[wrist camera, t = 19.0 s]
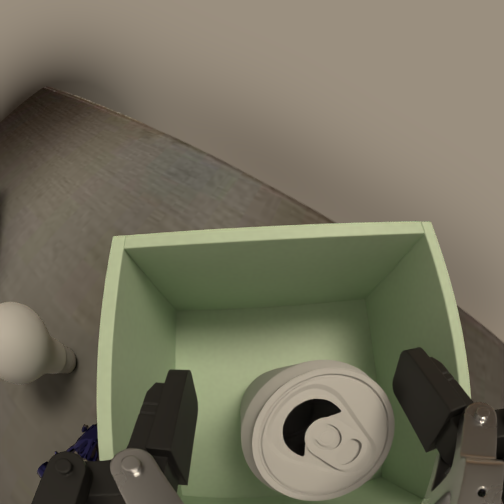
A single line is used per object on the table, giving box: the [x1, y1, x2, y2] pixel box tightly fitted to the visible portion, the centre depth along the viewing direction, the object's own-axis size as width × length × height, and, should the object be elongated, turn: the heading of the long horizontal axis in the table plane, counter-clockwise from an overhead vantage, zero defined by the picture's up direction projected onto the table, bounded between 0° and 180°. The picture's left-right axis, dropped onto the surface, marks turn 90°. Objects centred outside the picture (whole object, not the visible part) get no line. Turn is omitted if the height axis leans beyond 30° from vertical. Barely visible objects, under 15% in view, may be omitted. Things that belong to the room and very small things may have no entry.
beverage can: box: [240, 360, 395, 501], centre depth 14 cm, size 6×6×12 cm
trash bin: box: [97, 221, 471, 504], centre depth 15 cm, size 18×18×12 cm
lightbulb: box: [0, 302, 76, 384], centre depth 17 cm, size 6×6×11 cm
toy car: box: [37, 424, 100, 478], centre depth 16 cm, size 12×6×4 cm, turn 150°
